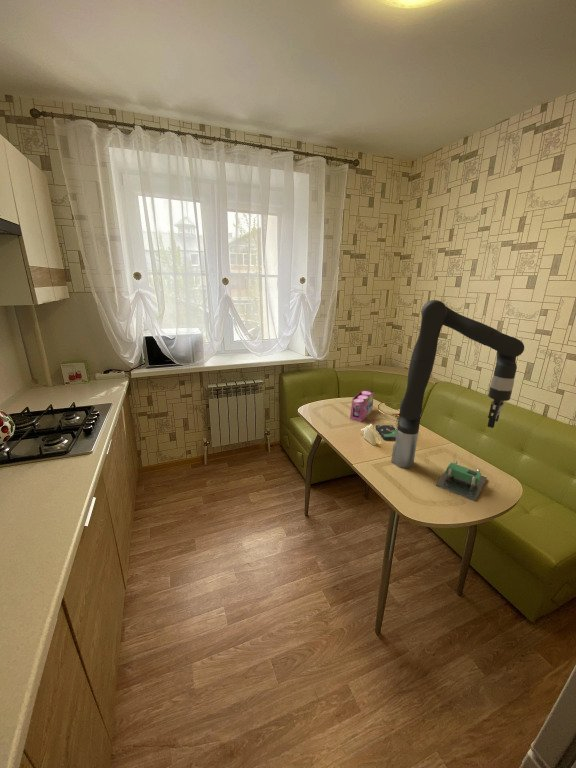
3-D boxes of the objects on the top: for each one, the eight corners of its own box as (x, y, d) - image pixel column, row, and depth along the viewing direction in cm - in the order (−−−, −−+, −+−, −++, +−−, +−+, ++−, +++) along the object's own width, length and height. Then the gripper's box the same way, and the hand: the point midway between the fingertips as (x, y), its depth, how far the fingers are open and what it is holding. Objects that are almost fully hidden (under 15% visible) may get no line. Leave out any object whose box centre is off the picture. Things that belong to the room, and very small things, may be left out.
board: (446, 473, 137) (447, 466, 136) (449, 468, 141) (451, 461, 140) (476, 485, 129) (478, 477, 128) (480, 479, 133) (481, 472, 132)
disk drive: (374, 429, 186) (383, 441, 171) (375, 425, 185) (384, 436, 171) (391, 429, 186) (402, 440, 172) (392, 424, 186) (402, 436, 171)
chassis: (435, 485, 134) (438, 472, 132) (450, 466, 148) (452, 454, 146) (475, 501, 124) (478, 487, 122) (486, 479, 138) (489, 466, 136)
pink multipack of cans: (361, 423, 192) (363, 402, 188) (348, 420, 196) (350, 399, 192) (372, 410, 212) (374, 391, 208) (361, 408, 216) (362, 389, 212)
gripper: (494, 381, 134) (486, 416, 139) (486, 389, 124) (478, 426, 129) (515, 385, 129) (506, 421, 134) (509, 393, 119) (499, 432, 124)
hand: (492, 423), depth 132 cm, fingers open, 8 cm apart
